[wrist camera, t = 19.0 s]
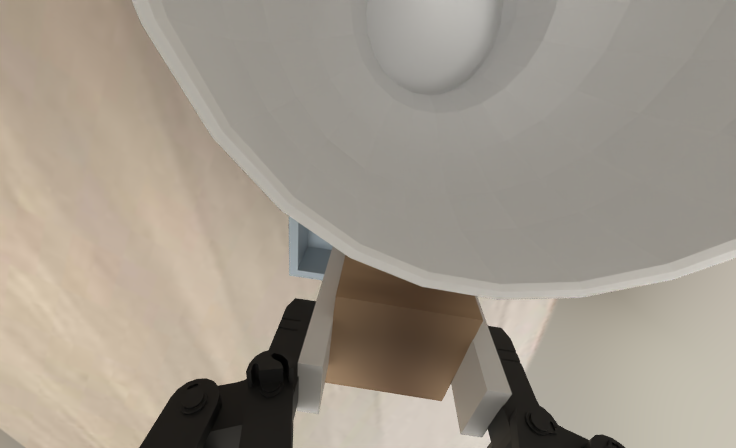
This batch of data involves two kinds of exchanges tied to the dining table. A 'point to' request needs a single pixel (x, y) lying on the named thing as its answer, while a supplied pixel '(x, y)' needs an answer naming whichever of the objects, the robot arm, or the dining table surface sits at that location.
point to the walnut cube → (398, 333)
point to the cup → (478, 131)
